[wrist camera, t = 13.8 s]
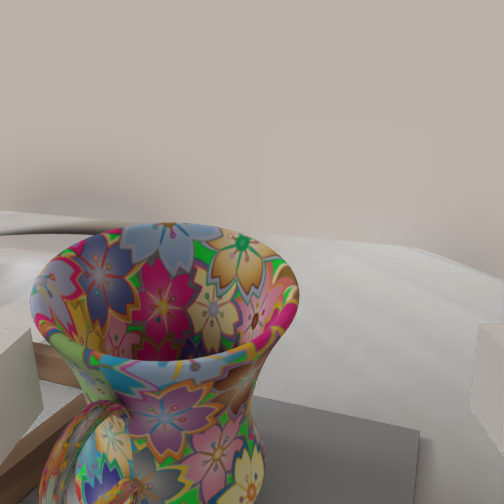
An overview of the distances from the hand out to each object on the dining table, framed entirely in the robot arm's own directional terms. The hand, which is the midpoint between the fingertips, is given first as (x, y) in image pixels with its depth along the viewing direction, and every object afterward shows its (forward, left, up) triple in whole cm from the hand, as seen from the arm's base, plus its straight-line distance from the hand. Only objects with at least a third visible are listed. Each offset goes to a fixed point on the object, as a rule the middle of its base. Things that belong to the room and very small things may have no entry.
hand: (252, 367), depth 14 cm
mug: (-6, +3, -9) cm, 11 cm away
